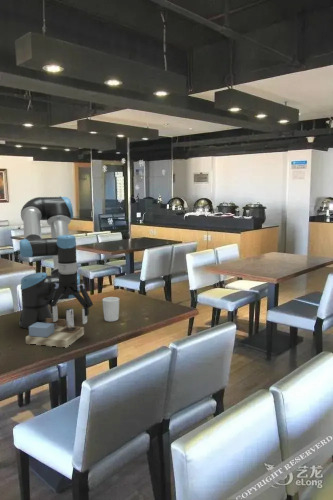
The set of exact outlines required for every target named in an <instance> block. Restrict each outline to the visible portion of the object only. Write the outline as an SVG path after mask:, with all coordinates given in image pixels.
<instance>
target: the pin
mask: <svg viewBox="0 0 333 500" xmlns="http://www.w3.org/2000/svg"><path fill="white" fill-rule="evenodd" d="M74 316H75V315H74V309H73V308H66V309H65V319H66V326H67V331H74V327H75V321H74Z"/></svg>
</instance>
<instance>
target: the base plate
mask: <svg viewBox="0 0 333 500" xmlns="http://www.w3.org/2000/svg"><path fill="white" fill-rule="evenodd" d="M46 323H54V333H53V334H51V335H50V336H48V337H37V336H29V334H28V335H27V336H25V344H26V345H30V344H36V345H35V346H41V345H46V346H45V347H52V346H56V347H55V348H63V347H65V349H66V348H68V347H70V346H71V345H72V344H73V343H75V342H76V341H77V340H78V339H80V338H81V337H82V336H83V335H85V327H84V326H74V331H67V323H66V318H58V320H57V321H55V322H53V318H46ZM69 345H70V346H69Z"/></svg>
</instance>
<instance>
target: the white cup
mask: <svg viewBox="0 0 333 500" xmlns="http://www.w3.org/2000/svg"><path fill="white" fill-rule="evenodd" d="M102 310H103V319H104V321H106V322H117V321H118V320H119V313H120V297H116V296H109V297H104V298H102Z"/></svg>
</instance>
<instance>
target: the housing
mask: <svg viewBox="0 0 333 500" xmlns="http://www.w3.org/2000/svg"><path fill="white" fill-rule="evenodd" d="M53 333H54V323H41V322H36V323H34V324H33V325H31V326H29V329H28V335H29V336H37V337H48V336H50V335H51V334H53Z"/></svg>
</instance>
